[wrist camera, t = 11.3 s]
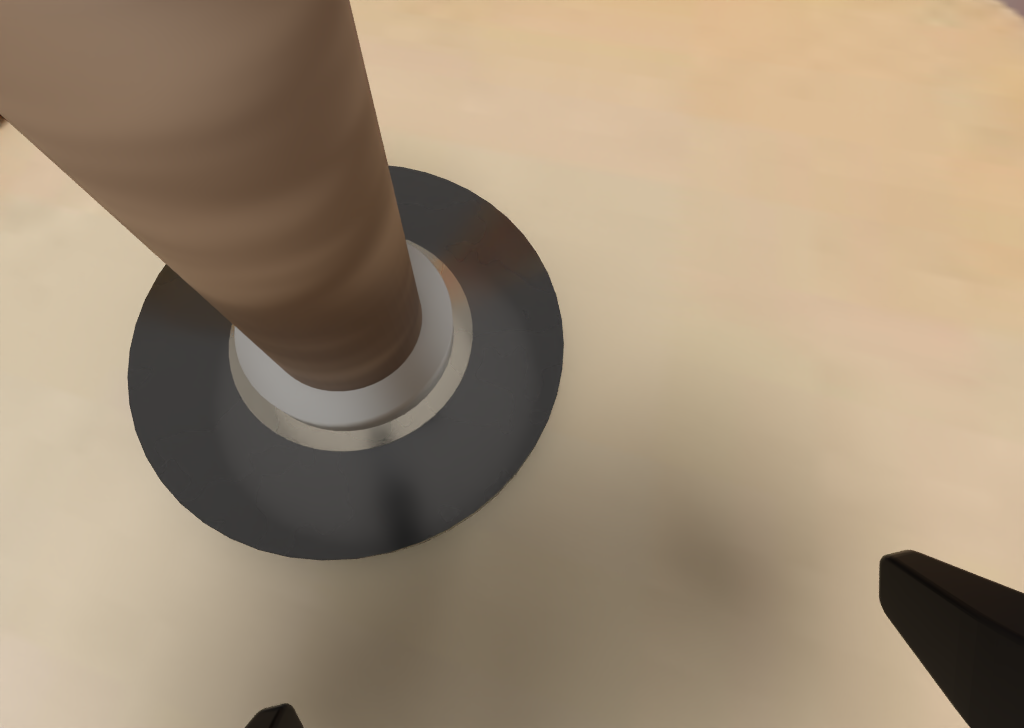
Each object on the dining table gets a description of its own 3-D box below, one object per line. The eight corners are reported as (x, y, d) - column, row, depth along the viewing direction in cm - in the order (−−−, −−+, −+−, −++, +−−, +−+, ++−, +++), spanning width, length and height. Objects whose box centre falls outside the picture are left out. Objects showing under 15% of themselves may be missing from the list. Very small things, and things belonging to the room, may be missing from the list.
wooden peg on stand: (349, 475, 16) (-71, 250, 4) (206, 339, 17) (-459, -166, 5) (494, 327, 18) (529, -129, 6) (358, 215, 19) (152, -355, 7)
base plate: (188, 636, 15) (161, 644, 14) (124, 240, 20) (99, 219, 18) (622, 463, 18) (633, 456, 17) (480, 148, 22) (480, 124, 21)
